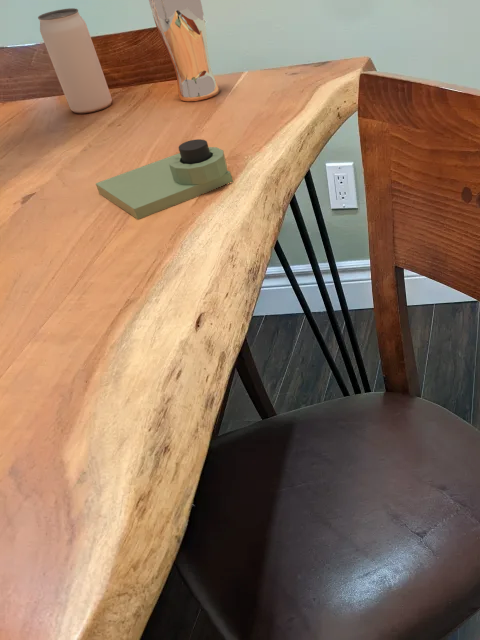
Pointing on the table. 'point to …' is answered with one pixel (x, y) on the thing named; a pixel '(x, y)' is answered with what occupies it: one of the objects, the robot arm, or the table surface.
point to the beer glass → (186, 46)
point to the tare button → (194, 151)
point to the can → (75, 60)
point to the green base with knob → (165, 183)
